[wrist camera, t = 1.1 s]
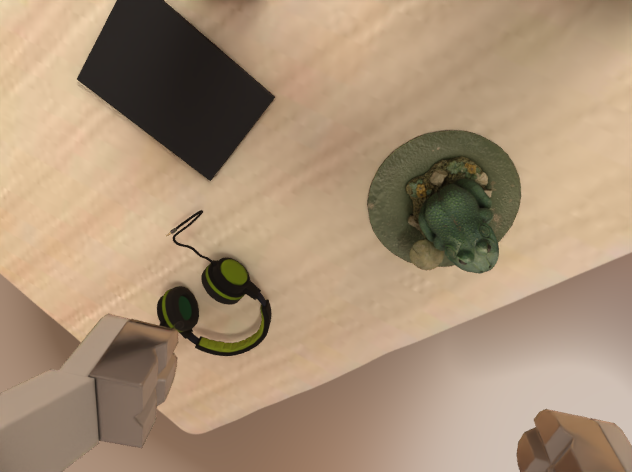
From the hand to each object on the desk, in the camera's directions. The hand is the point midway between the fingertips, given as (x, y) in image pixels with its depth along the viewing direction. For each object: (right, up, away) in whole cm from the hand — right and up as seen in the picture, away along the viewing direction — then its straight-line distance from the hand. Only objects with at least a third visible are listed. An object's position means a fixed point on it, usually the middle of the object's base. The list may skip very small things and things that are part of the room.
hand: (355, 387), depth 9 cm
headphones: (-15, -3, +50) cm, 52 cm away
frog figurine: (+14, +7, +42) cm, 45 cm away
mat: (-16, +20, +38) cm, 45 cm away
